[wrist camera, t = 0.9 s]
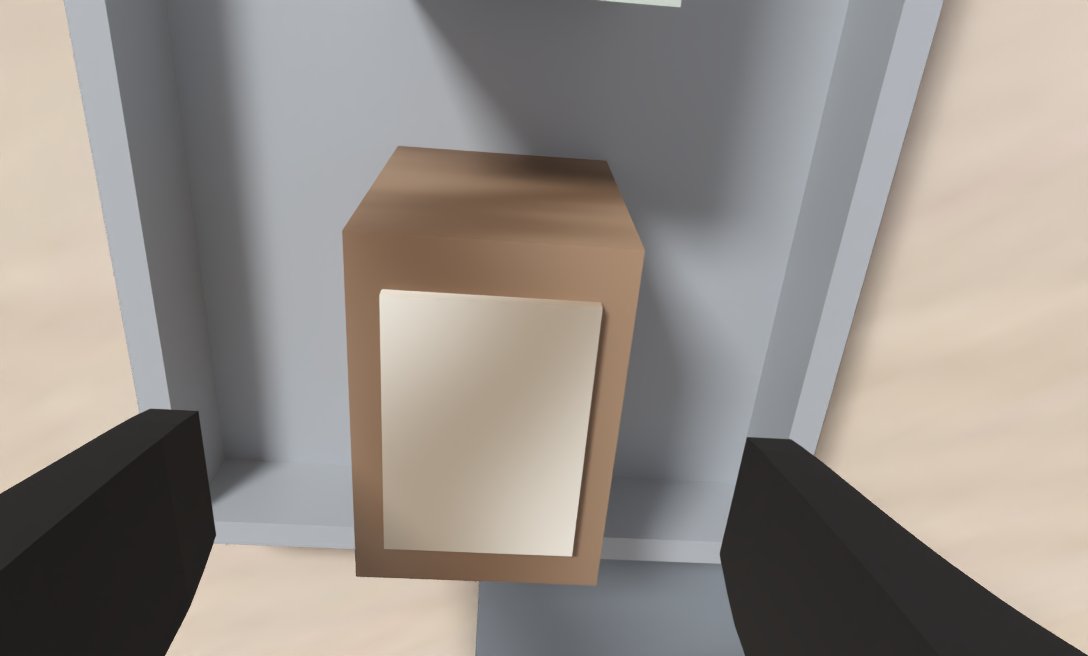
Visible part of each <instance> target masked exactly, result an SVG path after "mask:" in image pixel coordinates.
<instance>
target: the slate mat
mask: <svg viewBox="0 0 1088 656" xmlns="http://www.w3.org/2000/svg"><path fill="white" fill-rule="evenodd" d="M475 656H745V654H744V651H743V648H742V646H741V643H740V640H739V637H738V634H737V631H736V628H735V625H734V621H733V617H732V612H731V608H730V603H729V599H728V595H727V590H726V585H725V580H724V575H723V570H722V565H721V564H715V563H690V562H665V561H639V560H614V559H600V563H599V570H598V577H597V584H596V585H569V584H543V583H516V582H490V581H480V582H479V601H478V619H477V637H476V655H475Z"/></svg>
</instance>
